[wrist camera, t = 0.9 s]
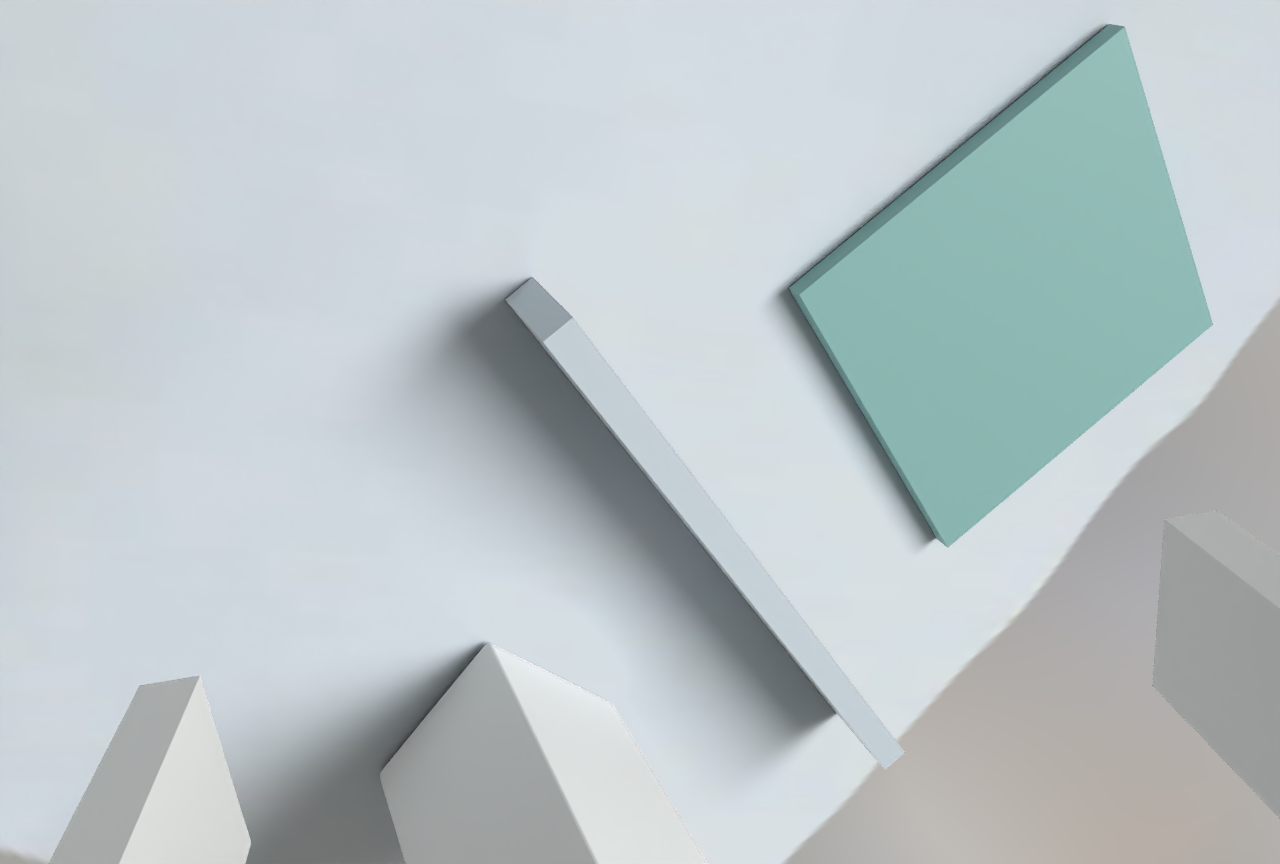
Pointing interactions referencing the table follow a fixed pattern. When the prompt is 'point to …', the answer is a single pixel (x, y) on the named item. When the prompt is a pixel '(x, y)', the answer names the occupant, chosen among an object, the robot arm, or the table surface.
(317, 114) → the table surface
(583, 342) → the acrylic wall
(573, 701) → the milk carton
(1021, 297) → the teal board
